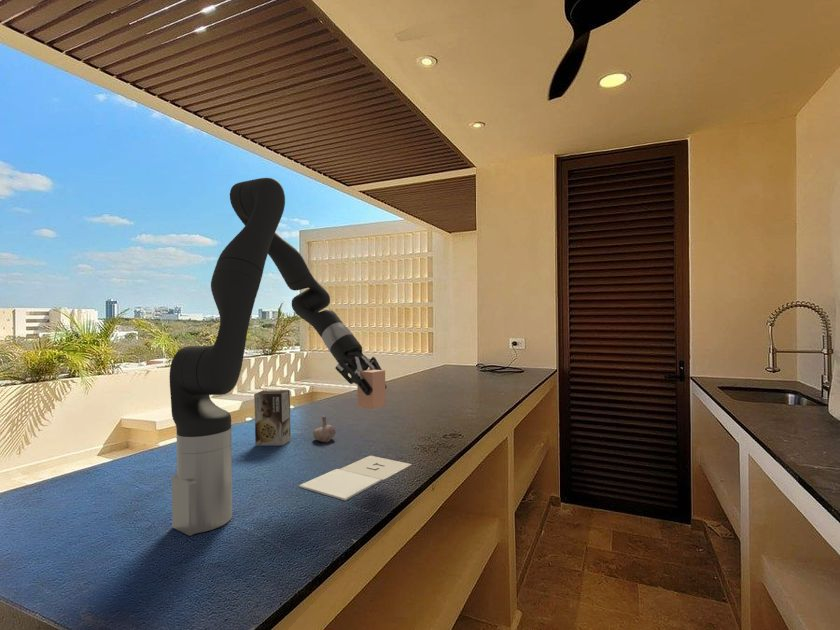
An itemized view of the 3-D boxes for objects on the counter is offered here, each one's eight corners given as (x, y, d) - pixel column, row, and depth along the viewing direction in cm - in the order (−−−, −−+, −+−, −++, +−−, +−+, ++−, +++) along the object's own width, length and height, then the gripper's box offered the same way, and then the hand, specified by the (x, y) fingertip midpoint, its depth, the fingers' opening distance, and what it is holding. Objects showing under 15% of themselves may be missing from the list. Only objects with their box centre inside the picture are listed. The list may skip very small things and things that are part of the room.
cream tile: (383, 480, 96) (383, 479, 96) (339, 469, 104) (339, 469, 104) (411, 464, 106) (411, 464, 106) (370, 456, 114) (370, 455, 114)
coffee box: (291, 440, 131) (290, 389, 132) (282, 446, 125) (282, 393, 125) (264, 439, 132) (263, 389, 132) (254, 445, 126) (253, 393, 126)
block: (373, 409, 101) (372, 372, 101) (357, 407, 103) (357, 371, 103) (385, 405, 105) (385, 370, 105) (370, 403, 107) (370, 369, 108)
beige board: (345, 501, 85) (345, 498, 85) (299, 487, 93) (299, 485, 93) (380, 481, 95) (380, 479, 95) (336, 471, 103) (336, 468, 103)
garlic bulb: (329, 444, 126) (329, 418, 126) (307, 443, 128) (307, 417, 128) (339, 437, 133) (339, 413, 134) (318, 436, 135) (318, 412, 135)
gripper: (329, 334, 102) (366, 385, 96) (366, 332, 114) (402, 378, 108) (314, 354, 105) (350, 406, 98) (352, 351, 117) (386, 396, 110)
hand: (377, 391), depth 103 cm, fingers closed on block, 5 cm apart
